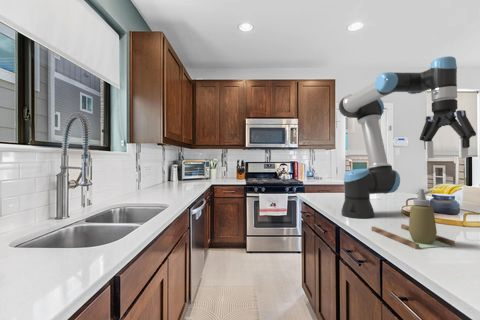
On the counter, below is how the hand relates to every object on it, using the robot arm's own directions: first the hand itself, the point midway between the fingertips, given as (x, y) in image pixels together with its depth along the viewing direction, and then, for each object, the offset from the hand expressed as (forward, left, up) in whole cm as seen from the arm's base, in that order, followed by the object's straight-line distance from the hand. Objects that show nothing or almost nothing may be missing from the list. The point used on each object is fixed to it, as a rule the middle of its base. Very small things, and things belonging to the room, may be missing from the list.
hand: (445, 157), depth 96 cm
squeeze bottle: (+5, -15, -29) cm, 33 cm away
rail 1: (-1, -22, -29) cm, 36 cm away
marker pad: (+5, -15, -29) cm, 33 cm away
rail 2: (-1, -8, -29) cm, 30 cm away
